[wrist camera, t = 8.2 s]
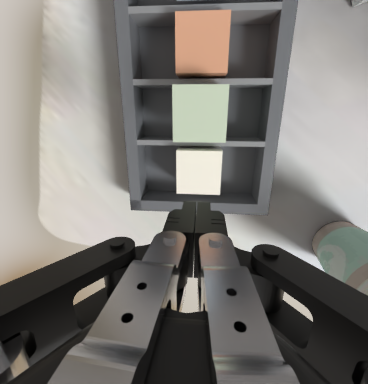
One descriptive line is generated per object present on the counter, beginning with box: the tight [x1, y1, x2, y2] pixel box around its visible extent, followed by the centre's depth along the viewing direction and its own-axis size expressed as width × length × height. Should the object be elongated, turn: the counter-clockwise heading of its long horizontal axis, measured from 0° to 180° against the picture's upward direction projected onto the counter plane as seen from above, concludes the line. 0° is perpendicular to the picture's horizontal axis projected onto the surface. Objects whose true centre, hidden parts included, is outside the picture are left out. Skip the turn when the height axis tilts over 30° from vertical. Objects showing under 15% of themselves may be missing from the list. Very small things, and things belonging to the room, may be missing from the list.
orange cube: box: [175, 10, 231, 79], centre depth 20 cm, size 4×4×4 cm
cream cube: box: [176, 146, 223, 195], centre depth 24 cm, size 4×4×4 cm
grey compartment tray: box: [114, 0, 298, 215], centre depth 22 cm, size 15×26×4 cm, turn 0°
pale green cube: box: [172, 84, 230, 143], centre depth 20 cm, size 4×4×4 cm
